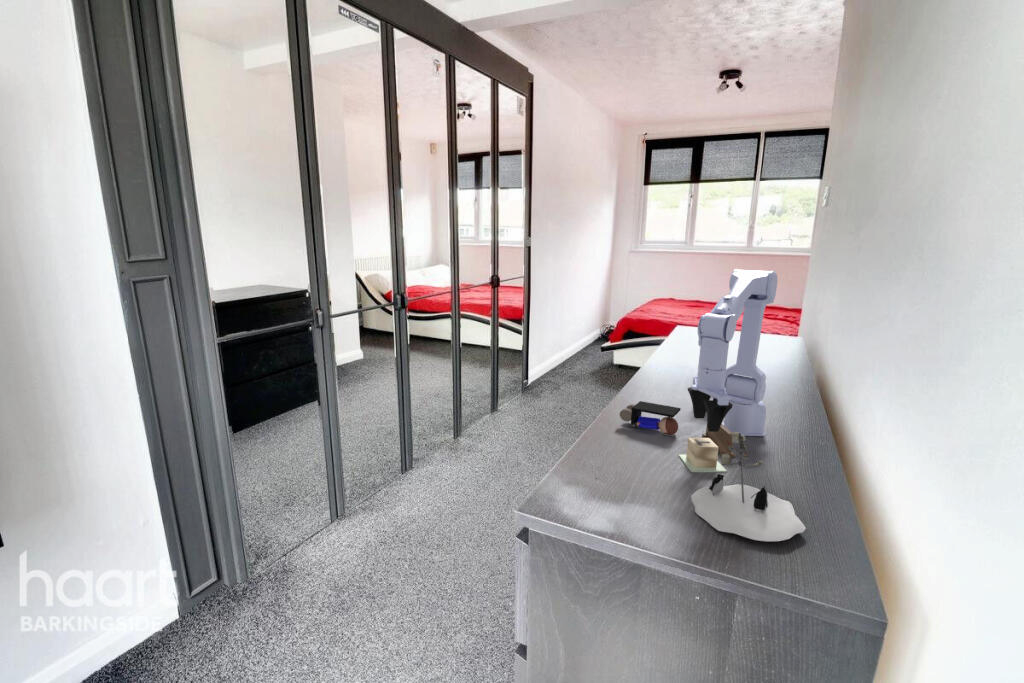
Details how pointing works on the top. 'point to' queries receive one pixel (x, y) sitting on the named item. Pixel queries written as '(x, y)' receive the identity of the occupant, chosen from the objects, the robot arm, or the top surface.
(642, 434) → the top surface
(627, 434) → the top surface
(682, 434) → the top surface
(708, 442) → the letter cube
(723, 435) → the brown piece
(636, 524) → the top surface
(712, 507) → the figurine
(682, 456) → the pad
